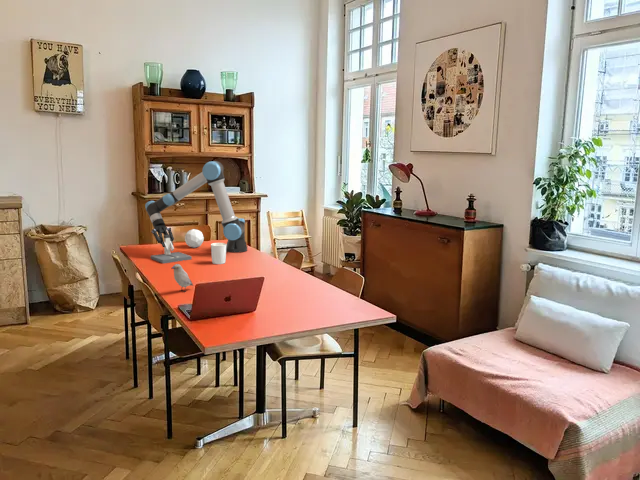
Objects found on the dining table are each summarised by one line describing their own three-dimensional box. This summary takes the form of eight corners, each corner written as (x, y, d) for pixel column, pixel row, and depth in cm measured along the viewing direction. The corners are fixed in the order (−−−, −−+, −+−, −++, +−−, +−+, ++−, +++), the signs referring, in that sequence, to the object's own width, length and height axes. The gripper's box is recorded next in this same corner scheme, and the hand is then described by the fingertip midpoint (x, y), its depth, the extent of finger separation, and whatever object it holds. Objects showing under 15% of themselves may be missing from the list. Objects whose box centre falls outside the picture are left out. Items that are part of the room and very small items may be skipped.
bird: (168, 293, 272) (167, 264, 269) (190, 287, 282) (189, 260, 279) (174, 295, 269) (174, 266, 266) (196, 289, 279) (195, 261, 276)
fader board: (178, 254, 359) (178, 251, 359) (191, 259, 347) (191, 256, 347) (150, 258, 346) (150, 255, 346) (162, 263, 334) (162, 260, 333)
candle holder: (228, 261, 344) (228, 243, 342) (224, 264, 335) (224, 246, 332) (213, 260, 345) (213, 242, 343) (209, 264, 335) (208, 245, 333)
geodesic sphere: (181, 237, 391) (183, 224, 381) (200, 236, 396) (202, 223, 387) (185, 252, 382) (187, 239, 373) (204, 250, 388) (206, 238, 378)
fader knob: (168, 253, 352) (168, 234, 349) (170, 254, 350) (170, 235, 348) (164, 254, 350) (163, 235, 347) (166, 254, 348) (165, 235, 345)
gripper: (167, 223, 363) (179, 251, 354) (144, 226, 352) (156, 255, 343) (170, 217, 358) (183, 245, 349) (147, 219, 347) (159, 248, 339)
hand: (170, 250), depth 346 cm, fingers open, 3 cm apart
